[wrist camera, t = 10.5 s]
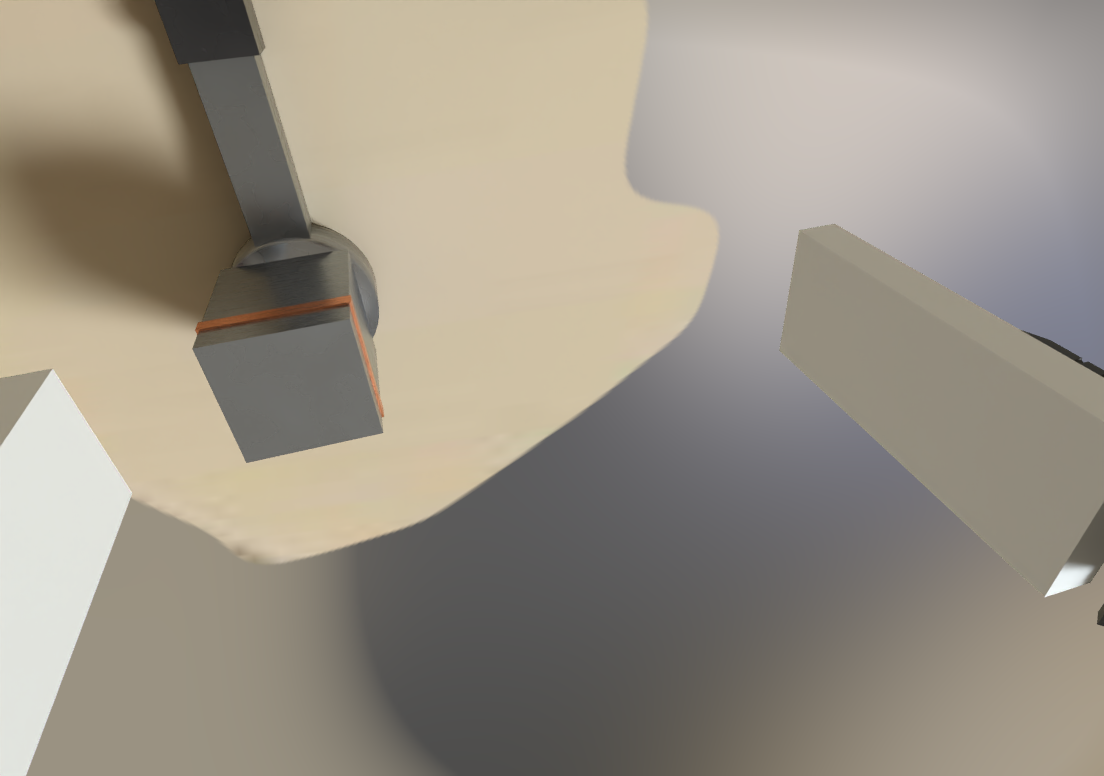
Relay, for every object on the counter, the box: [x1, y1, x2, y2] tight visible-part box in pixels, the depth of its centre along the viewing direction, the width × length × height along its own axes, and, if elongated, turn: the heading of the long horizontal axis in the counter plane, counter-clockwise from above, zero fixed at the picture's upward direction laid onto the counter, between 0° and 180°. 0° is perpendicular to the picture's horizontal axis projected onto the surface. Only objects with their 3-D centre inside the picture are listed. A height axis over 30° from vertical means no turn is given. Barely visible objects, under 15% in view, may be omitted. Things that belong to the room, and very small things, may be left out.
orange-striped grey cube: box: [192, 249, 384, 463], centre depth 32 cm, size 7×7×8 cm
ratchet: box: [155, 0, 379, 338], centre depth 30 cm, size 24×8×6 cm, turn 4°
